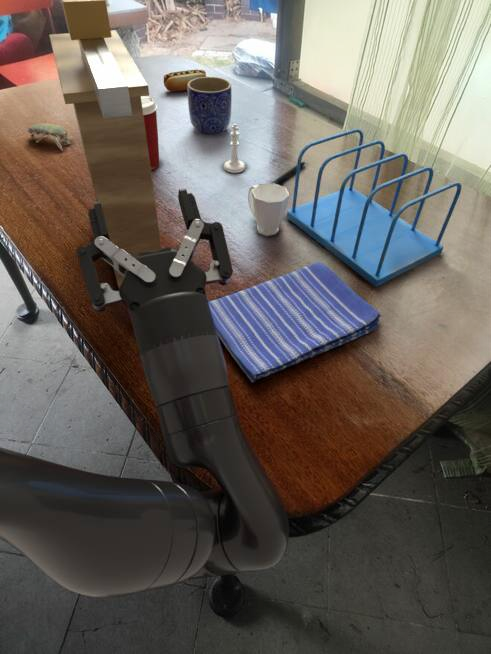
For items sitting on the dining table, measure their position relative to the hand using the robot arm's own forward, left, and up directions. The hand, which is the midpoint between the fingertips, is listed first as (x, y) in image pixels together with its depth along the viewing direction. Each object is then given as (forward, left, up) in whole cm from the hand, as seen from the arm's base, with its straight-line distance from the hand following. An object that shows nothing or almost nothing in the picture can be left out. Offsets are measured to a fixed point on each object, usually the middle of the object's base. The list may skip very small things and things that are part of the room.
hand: (140, 199), depth 46 cm
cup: (+21, +32, -27) cm, 46 cm away
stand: (-5, +30, -26) cm, 40 cm away
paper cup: (-1, +60, -27) cm, 66 cm away
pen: (+30, +50, -27) cm, 64 cm away
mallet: (-3, +20, +5) cm, 21 cm away
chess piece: (+19, +56, -27) cm, 65 cm away
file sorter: (+39, +26, -27) cm, 54 cm away
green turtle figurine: (-24, +74, -27) cm, 82 cm away
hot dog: (+12, +106, -27) cm, 110 cm away
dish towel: (+20, +6, -27) cm, 34 cm away
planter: (+16, +77, -27) cm, 83 cm away
